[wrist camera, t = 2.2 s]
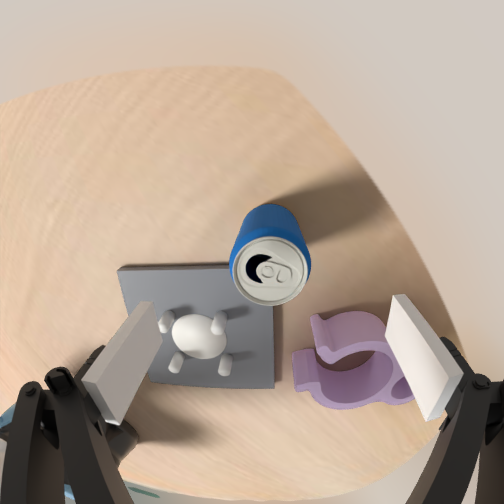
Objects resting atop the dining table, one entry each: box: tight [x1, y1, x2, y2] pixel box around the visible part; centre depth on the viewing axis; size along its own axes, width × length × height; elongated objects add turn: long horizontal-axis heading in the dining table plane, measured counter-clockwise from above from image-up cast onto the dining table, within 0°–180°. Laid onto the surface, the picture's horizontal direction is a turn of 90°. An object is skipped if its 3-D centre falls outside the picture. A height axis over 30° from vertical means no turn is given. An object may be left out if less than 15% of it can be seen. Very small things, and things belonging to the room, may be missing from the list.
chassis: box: [117, 265, 274, 389], centre depth 36 cm, size 20×20×4 cm
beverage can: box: [229, 204, 311, 306], centre depth 27 cm, size 6×6×12 cm
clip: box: [292, 311, 415, 410], centre depth 34 cm, size 20×12×7 cm, turn 72°
